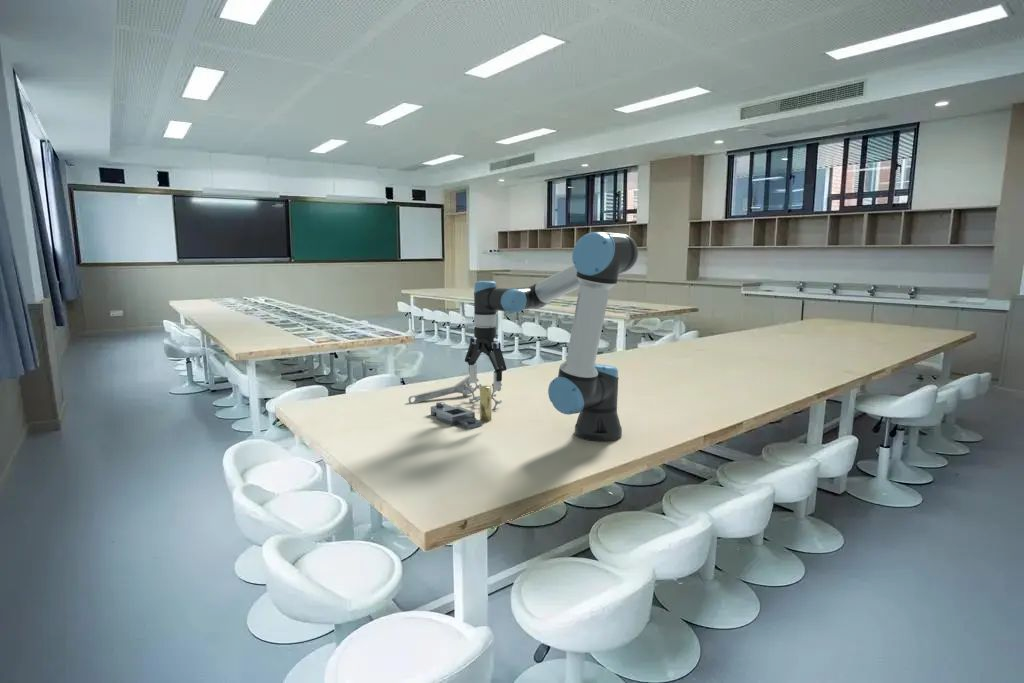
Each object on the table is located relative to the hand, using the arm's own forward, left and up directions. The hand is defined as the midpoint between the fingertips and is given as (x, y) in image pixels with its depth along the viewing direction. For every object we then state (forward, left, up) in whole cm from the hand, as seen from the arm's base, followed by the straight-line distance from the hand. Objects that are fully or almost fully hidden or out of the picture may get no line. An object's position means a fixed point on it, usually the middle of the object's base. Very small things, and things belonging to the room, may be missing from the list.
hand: (484, 386), depth 193 cm
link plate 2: (+3, +8, -12) cm, 15 cm away
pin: (0, 0, -12) cm, 12 cm away
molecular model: (+16, -11, -12) cm, 23 cm away
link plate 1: (+10, +8, -12) cm, 17 cm away
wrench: (+33, -6, -13) cm, 36 cm away
